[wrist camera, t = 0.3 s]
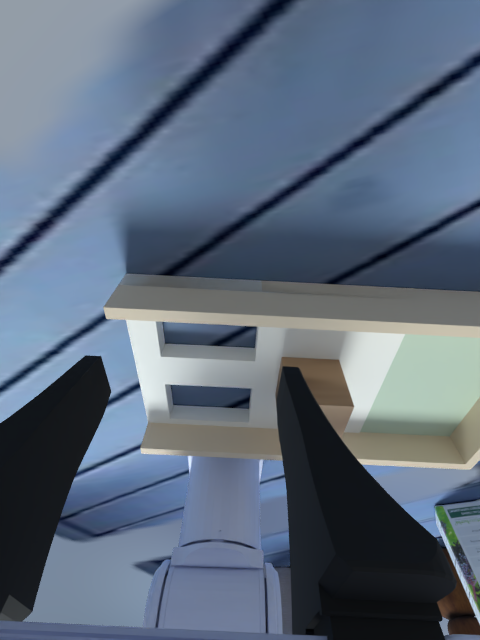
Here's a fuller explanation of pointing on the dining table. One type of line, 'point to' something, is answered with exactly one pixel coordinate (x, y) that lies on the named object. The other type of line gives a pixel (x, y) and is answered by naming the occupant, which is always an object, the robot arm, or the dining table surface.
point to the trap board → (319, 343)
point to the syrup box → (463, 544)
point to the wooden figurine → (458, 608)
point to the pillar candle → (285, 598)
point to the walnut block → (325, 388)
